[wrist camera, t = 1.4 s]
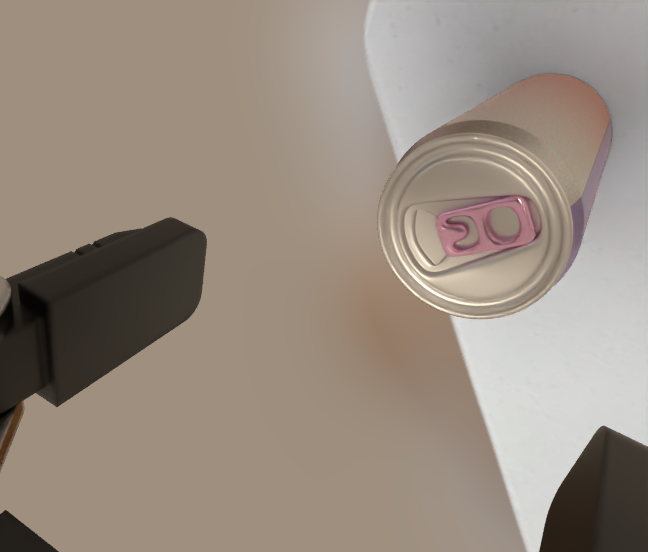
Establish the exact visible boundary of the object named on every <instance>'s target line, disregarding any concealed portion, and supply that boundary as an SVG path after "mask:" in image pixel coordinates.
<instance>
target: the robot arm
mask: <svg viewBox="0 0 648 552" xmlns="http://www.w3.org/2000/svg"><path fill="white" fill-rule="evenodd" d="M206 246H207V240H206V236H205V234H204V233H203V232H202V231H200V230H198V229H196V228H194V227H192V226H190V225H188V224H185V223H183V222H181V221H179V220H177V219H175V218H166V219H164V220H161V221H159V222H157V223H154V224H152V225H150V226H147V227H145V228H143V229H136V230H129V231H123V232H117V233H114V234H111V235H109V236H107V237H104V238H102V239H99V240H97V241H95V242H94V243H93V245H91V244H88V245H85V246H83V247H80V248H78V249H76V251H75V252H74V253H73V252H72V251H71V252H69V253H66V254H64V255H62V256H59V257H57V258H54V259H52V260H50V261H47V262H45V263H43V264H40V265H38V266H35V267H33V268H31V269H28V270H26V271H24V272H21V273H19V274H17V275H14V276H12V277H9V278H7V279H4V278H3V277H0V471H1V469H2V466H3V464H4V461H5V459H6V456H7V454H8V451H9V448H10V446H11V444H12V441H13V439H14V436H15V433H16V431H17V429H18V426H19V423H20V421H21V418H22V416H23V413H24V400H25V399H26V398H28V397H29V396H31V395H33V394H34V393H37V394H38V395H40V396H41V397H43V398H44V399H46V400H47V401H49V402H50V403H52V404H53V405H55V406H56V407H58V406H59V405H61V404H62V403H64V402H65V401H67V400H68V399H70V398H71V397H73V396H74V395H76V394H77V393H79V392H80V391H82V390H83V389H85V388H86V387H88V386H89V385H90V384H92V383H94V382H95V381H97V380H98V379H99V378H101V377H103V376H104V375H106V374H107V373H109V372H110V371H111V370H113V369H114V368H116V367H117V366H119V365H120V364H122V363H123V362H125V361H126V360H128V359H129V358H131V357H132V356H134V355H135V354H137V353H138V352H140V351H141V350H143V349H144V348H146V347H147V346H148V345H150V344H152V343H153V342H154V341H156V340H157V339H159V338H160V337H162V336H163V335H165V334H167V333H168V332H170V331H171V330H172V329H174V328H175V327H177V326H178V325H180V324H181V323H183V322H184V321H186V320H187V319H188V318H189V317H190V316H191V315H192V314H193V312H194V311H195V309H196V308H197V306H198V304H199V301H200V298H201V294H202V285H203V275H204V274H203V273H204V265H205V256H206ZM0 552H58V551H57V550H56V549H55V548H53V547H52V546H51V545H50V544H48V543H47V542H45V541H44V540H43V539H42V538H41V537H39V536H38V535H37V534H35V533H34V532H33V531H32V530H30V529H29V528H28V527H27V526H25V525H24V524H23V523H21V522H20V521H19V520H18V519H17V518H15V517H14V516H13V515H12V514H10V513H9V512H8V511H6V510H5V511H4V512H3V513H1V514H0ZM539 552H648V447H647V446H645V445H643V444H641V443H639V442H637V441H635V440H633V439H631V438H629V437H627V436H625V435H622V434H620V433H618V432H616V431H614V430H612V429H610V428H608V427H606V426H602V427H600V428H599V429H598V430H597V431H596V433H595V434H594V436H593V437H592V439H591V440H590V442H589V443H588V445H587V446H586V448H585V449H584V451H583V452H582V454H581V455H580V457H579V458H578V460H577V461H576V463H575V464H574V466H573V467H572V469H571V470H570V472H569V473H568V475H567V476H566V478H565V479H564V481H563V482H562V484H561V485H560V487H559V489H558V491H557V492H556V494H555V497H554V499H553V501H552V503H551V506H550V509H549V511H548V515H547V518H546V522H545V527H544V532H543V536H542V541H541V546H540V551H539Z"/></svg>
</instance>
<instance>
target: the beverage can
mask: <svg viewBox="0 0 648 552" xmlns="http://www.w3.org/2000/svg"><path fill="white" fill-rule="evenodd" d="M611 141H612V123H611V118H610V114H609V111H608V109H607V107H606V105H605V103H604V101H603V100H602V98H601V97H600V96H599V95H598V93H597V92H596V91H595V90H594V89H592V88H591V87H590V86H589V85H587V84H586V83H584V82H582V81H580V80H578V79H576V78H573V77H570V76H566V75H561V74H542V75H537V76H533V77H529V78H527V79H524V80H522V81H520V82H518V83H516V84H514V85H513V86H511V87H509V88H507V89H506V90H504V91H502V92H500V93H499V94H497V95H495V96H494V97H492V98H490V99H488V100H487V101H485V102H483V103H481V104H480V105H478V106H476V107H474V108H473V109H471V110H469V111H467V112H466V113H464V114H462V115H460V116H459V117H457V118H455V119H454V120H452V121H450V122H448V123H447V124H445V125H443V126H441V127H440V128H438V129H436V130H434V131H433V132H431V133H429V134H427V135H426V136H424V137H423V138H421V139H420V140H419V141H418V142H416V143H415V144H414V145H413V146H412V147H411V148H410V149H409V150H408V151H407V152H406V153H405V155H404V156H403V157H402V158H401V160H400V161H399V163H398V165H397V166H396V168H395V169H394V171H393V172H392V174H391V175H390V177H389V178H388V180H387V182H386V184H385V186H384V189H383V191H382V195H381V197H380V202H379V207H378V215H377V226H378V235H379V240H380V244H381V248H382V251H383V253H384V256H385V258H386V260H387V262H388V264H389V266H390V268H391V270H392V271H393V273H394V274H395V275H396V277H397V278H398V280H399V281H400V282H401V283H402V284H403V285H404V286H405V287H406V288H407V290H409V291H410V292H411V293H412V294H413V295H414V296H416V297H417V298H418V299H420V300H421V301H423V302H424V303H426V304H427V305H429V306H431V307H433V308H435V309H437V310H439V311H442V312H444V313H447V314H450V315H454V316H458V317H463V318H470V319H492V318H499V317H504V316H508V315H511V314H514V313H516V312H519V311H521V310H523V309H525V308H527V307H529V306H531V305H532V304H534V303H535V302H537V301H538V300H539V299H541V298H542V297H543V296H544V295H545V294H546V293H547V292H548V291H549V290H550V289H551V288H552V287H553V286H554V285H556V284H557V283H558V282H559V281H560V280H561V278H562V277H563V276H564V275H565V274H566V272H567V271H568V270H569V268H570V267H571V265H572V263H573V262H574V260H575V258H576V255H577V253H578V251H579V248H580V245H581V242H582V238H583V235H584V232H585V229H586V225H587V222H588V219H589V215H590V212H591V209H592V206H593V202H594V199H595V196H596V192H597V189H598V186H599V182H600V179H601V176H602V173H603V169H604V166H605V163H606V159H607V156H608V153H609V149H610V146H611Z"/></svg>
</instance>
